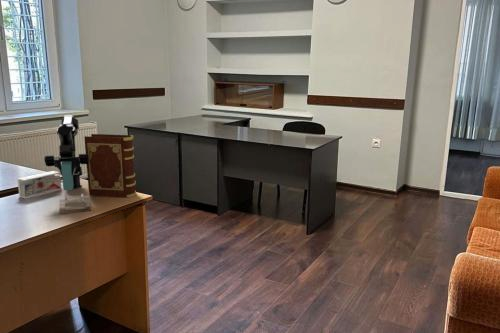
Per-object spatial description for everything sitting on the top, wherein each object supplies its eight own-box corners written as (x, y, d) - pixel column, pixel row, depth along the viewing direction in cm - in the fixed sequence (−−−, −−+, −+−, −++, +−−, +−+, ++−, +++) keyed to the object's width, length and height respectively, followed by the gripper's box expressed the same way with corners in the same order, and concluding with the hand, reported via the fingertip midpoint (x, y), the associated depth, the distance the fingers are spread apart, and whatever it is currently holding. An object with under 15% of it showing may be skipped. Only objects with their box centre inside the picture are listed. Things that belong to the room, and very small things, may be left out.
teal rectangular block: (64, 186, 198) (62, 162, 195) (73, 185, 200) (71, 161, 197) (63, 190, 193) (61, 165, 190) (72, 189, 194) (70, 164, 191)
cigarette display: (25, 198, 201) (23, 180, 199) (19, 196, 204) (17, 178, 202) (63, 189, 218) (61, 171, 215) (57, 187, 220) (55, 170, 218)
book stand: (59, 201, 198) (58, 193, 197) (88, 198, 203) (88, 190, 202) (59, 214, 181) (58, 205, 180) (91, 210, 186) (90, 202, 185)
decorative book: (138, 193, 213) (135, 135, 205) (132, 197, 205) (129, 137, 198) (96, 191, 215) (91, 133, 207) (88, 195, 207) (83, 136, 200)
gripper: (42, 138, 191) (42, 167, 184) (86, 137, 197) (87, 165, 190) (46, 151, 200) (46, 180, 193) (88, 149, 206) (89, 177, 199)
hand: (67, 175), depth 193 cm, fingers closed on teal rectangular block, 4 cm apart
